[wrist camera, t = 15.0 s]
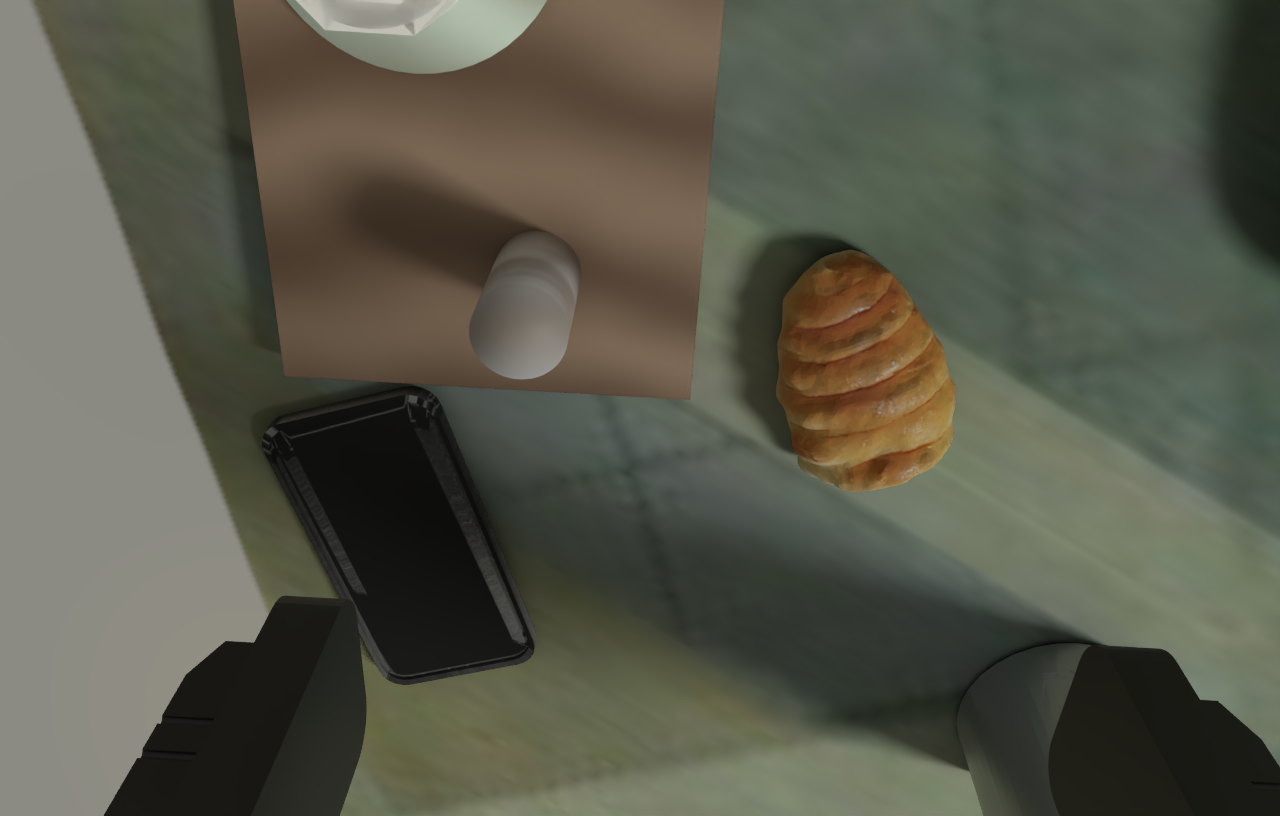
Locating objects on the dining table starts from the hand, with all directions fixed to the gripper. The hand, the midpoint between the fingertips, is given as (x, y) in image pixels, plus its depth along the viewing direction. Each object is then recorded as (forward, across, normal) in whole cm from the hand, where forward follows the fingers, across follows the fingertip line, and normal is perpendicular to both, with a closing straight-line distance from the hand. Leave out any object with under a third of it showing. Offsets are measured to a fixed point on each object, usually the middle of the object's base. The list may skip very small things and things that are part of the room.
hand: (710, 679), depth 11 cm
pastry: (+29, -8, +10) cm, 31 cm away
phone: (+29, +11, +20) cm, 37 cm away
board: (+28, +7, 0) cm, 29 cm away
